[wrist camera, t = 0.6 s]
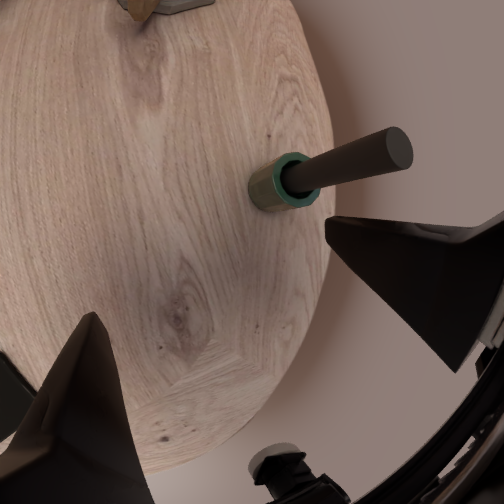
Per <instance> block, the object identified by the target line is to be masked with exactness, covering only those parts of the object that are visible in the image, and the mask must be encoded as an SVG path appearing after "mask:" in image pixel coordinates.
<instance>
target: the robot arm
mask: <svg viewBox="0 0 504 504" xmlns="http://www.w3.org/2000/svg"><path fill="white" fill-rule="evenodd" d="M325 239H326V242H327V243H328V245H329V246H330V247H331V248H332V249H333V250H334V251H335V252H336V254H337V255H338V256H339V257H340V258H341V259H342V260H343V261H344V262H345V263H346V265H347V266H348V267H349V268H350V269H351V270H352V271H353V272H354V273H355V274H357V275H358V276H359V277H360V278H361V279H362V280H363V281H364V282H365V283H366V284H367V285H368V286H369V287H370V288H371V289H372V290H373V291H375V292H376V293H377V294H378V295H379V296H380V297H381V298H382V299H383V300H384V301H385V302H386V303H387V304H388V305H389V306H390V307H391V308H392V309H393V310H394V311H395V312H396V313H397V314H398V315H399V316H400V317H401V318H402V319H403V320H404V321H405V322H406V323H407V324H408V325H409V326H410V327H411V328H412V329H413V330H414V331H415V332H416V333H417V334H418V335H419V336H421V338H422V339H423V340H424V341H425V342H426V343H427V344H428V346H429V347H430V348H431V349H432V350H433V351H434V352H435V353H436V354H437V355H438V356H439V357H440V358H441V359H442V360H443V361H444V363H445V364H446V365H447V366H448V367H449V368H450V369H451V370H452V371H453V372H454V373H456V372H457V371H458V370H459V369H460V367H461V366H462V365H463V363H464V362H465V361H466V360H467V358H468V357H469V356H470V354H471V353H472V351H473V350H474V349H475V347H476V346H477V345H478V343H479V342H481V343H483V344H484V345H485V346H486V347H485V349H484V350H483V352H482V353H481V355H480V356H479V358H478V360H477V361H476V363H475V366H476V370H477V376H478V381H477V382H476V383H475V385H474V386H473V388H472V389H471V390H470V392H469V393H468V394H467V396H466V397H465V398H464V399H463V401H462V402H461V403H460V405H459V406H458V407H457V408H456V410H455V411H454V412H453V413H452V414H451V416H450V417H449V418H448V419H447V420H446V421H445V422H444V424H443V425H442V426H441V427H440V428H439V429H438V430H437V431H436V432H435V434H434V435H433V436H432V437H431V438H430V439H429V440H428V441H427V442H426V443H425V444H424V445H423V446H422V447H421V448H420V449H419V450H418V451H417V452H416V453H415V454H414V455H412V456H411V457H410V458H409V459H408V460H407V461H406V462H405V463H404V464H402V465H401V466H400V467H399V468H398V469H397V470H396V471H394V472H393V473H392V474H391V475H389V476H388V477H387V478H386V479H385V480H383V481H382V482H381V483H379V484H378V485H377V486H376V487H374V488H373V489H371V490H370V491H369V492H367V493H366V494H365V495H363V496H362V497H360V498H359V499H357V500H356V501H355V502H353V503H351V500H350V498H349V496H348V495H347V494H346V492H345V491H344V490H343V489H342V488H341V487H340V486H339V485H338V484H336V483H335V482H334V481H333V480H332V479H331V478H329V477H328V476H327V475H326V474H325V473H324V474H322V475H321V476H320V477H318V478H316V477H315V476H314V475H313V474H312V472H311V469H310V468H309V467H308V466H307V464H306V463H305V462H304V461H303V460H304V458H305V456H306V453H305V452H298V453H290V454H282V455H272V456H267V457H265V458H264V461H263V463H262V465H261V467H260V470H259V472H258V474H257V476H256V479H255V481H254V485H255V486H260V485H265V486H266V487H267V489H268V491H269V492H270V494H271V495H272V497H273V498H274V501H272V502H270V503H269V502H268V503H266V504H349V503H351V504H504V211H503V212H501V213H500V214H498V215H496V216H495V217H493V218H492V219H490V220H488V221H487V222H485V223H483V224H482V225H479V226H476V227H457V226H444V225H443V226H442V225H432V224H421V223H411V222H402V221H391V220H381V219H368V218H357V217H344V216H332V217H330V218H327V219H326V220H325ZM42 386H43V387H42ZM42 386H41V387H40V389H39V391H38V393H37V395H36V397H35V399H34V401H33V403H32V404H31V406H30V408H29V410H28V412H27V413H26V415H25V417H24V419H23V421H22V422H21V424H20V426H19V428H18V429H17V431H16V433H15V435H14V437H13V439H12V441H11V442H10V444H9V446H8V448H7V449H6V450H5V451H4V452H3V453H2V454H1V455H0V504H155V503H154V501H153V498H152V496H151V493H150V490H149V488H148V485H147V483H146V480H145V477H144V474H143V471H142V468H141V465H140V462H139V459H138V455H137V452H136V449H135V445H134V441H133V438H132V434H131V430H130V426H129V422H128V418H127V414H126V409H125V405H124V400H123V395H122V390H121V385H120V379H119V374H118V369H117V366H116V362H115V358H114V354H113V351H112V347H111V343H110V338H109V334H108V332H107V330H106V328H105V326H104V325H103V323H102V322H101V320H100V318H99V317H98V315H97V314H96V313H95V312H90V313H88V314H85V315H84V316H83V317H82V319H81V320H80V322H79V323H78V325H77V326H76V328H75V330H74V331H73V333H72V334H71V336H70V337H69V339H68V341H67V342H66V344H65V345H64V347H63V349H62V350H61V352H60V354H59V355H58V357H57V359H56V361H55V362H54V364H53V366H52V368H51V369H50V371H49V373H48V375H47V376H46V378H45V380H44V382H43V384H42ZM471 436H473V437H474V438H475V440H474V442H472V443H471V444H470V446H469V447H468V448H469V449H470V450H469V451H468V452H467V453H466V454H464V455H463V456H462V457H461V458H460V459H458V460H457V462H456V463H455V464H454V465H455V466H456V467H455V468H454V469H453V470H451V471H450V472H449V473H447V474H446V475H445V476H443V477H442V478H441V479H440V478H439V477H438V476H437V475H438V474H439V473H440V472H441V471H442V470H443V469H444V468H445V467H446V466H447V465H448V463H449V462H450V461H451V460H452V459H453V458H454V457H455V455H456V454H457V453H458V452H459V451H460V449H461V448H462V447H463V446H464V445H465V443H466V442H467V441H468V439H469V438H470V437H471Z"/></svg>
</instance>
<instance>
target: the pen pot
mask: <svg viewBox="0 0 504 504" xmlns="http://www.w3.org/2000/svg"><path fill="white" fill-rule="evenodd" d="M309 159H311V158H309V157H307V156H305V155H303V154H301V153H299V152H293V153H286V154H283V155H282V156H280V157H278V158H276V159H274V160H273V161H271V162H269V163H267V164H266V165H264V166H262V167H260V168H259V169H258V170H257V171H255V172H254V173H253V175H252V176H251V178H250V180H249V185H248V191H249V195H250V198H251V200H252V202H253V203H254V204H255V205H256V206H257V207H258V208H259V209H261V210H263V211H267V212H277V211H283V210H289V209H295V208H301V207H305V206H309V205H311V204H312V203H313V202H314V201H315V200H316V199H317V197H318V196H319V194H320V189H321V188H319V189H315V190H311V191H307V192H303V193H299V194H295V195H291V196H289V195H288V194H287V193H286V192H285V190H284V189H283V188H282V185H281V181H280V174H281V171H283V170H286V169H288V168H290V167H292V166H295V165H297V164H299V163H302V162H304V161H306V160H309Z"/></svg>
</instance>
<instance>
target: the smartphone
mask: <svg viewBox="0 0 504 504" xmlns="http://www.w3.org/2000/svg"><path fill="white" fill-rule="evenodd" d="M36 395H37V394H36V393H35V392H34V390H33V389H32V388H31V387H30V386H29V385H28V384H27V383H26V382H25V380H24V379H23V378H22V377H21V376H20V375H19V373H18V372H17V371H16V370H15V368H14V367H13V366H12V365H11V363H10V362H9V361H8V360H7V358H6V357H5V356H4V355H3V354H2V353H0V443H1V442H2V441H3V440H5V439H6V438H7V437H9V436H10V435H11V434H13V433H14V432H15V431H17V429H18V428H19V426H20V424H21V422H22V421H23V419H24V417H25V415H26V413H27V412H28V410H29V408H30V406H31V404H32V403H33V401H34V399H35V397H36Z"/></svg>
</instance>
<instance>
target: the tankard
mask: <svg viewBox="0 0 504 504" xmlns="http://www.w3.org/2000/svg"><path fill="white" fill-rule="evenodd" d="M118 1H119V3H120V4H121V5H122V7H123V8H124V9H128V12H129V14H130V15H131V16H132V18H133V19H134V21H143V22H144V21H145V20H146V19H147V18H148V17H149V16H150V14H151V13H152V12H158V13H165V14H173V13H176V12H179V11H183V10H187V9H190V8H194V7H198V6H202V5H207V4H211V3H214V1H215V0H118Z"/></svg>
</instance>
